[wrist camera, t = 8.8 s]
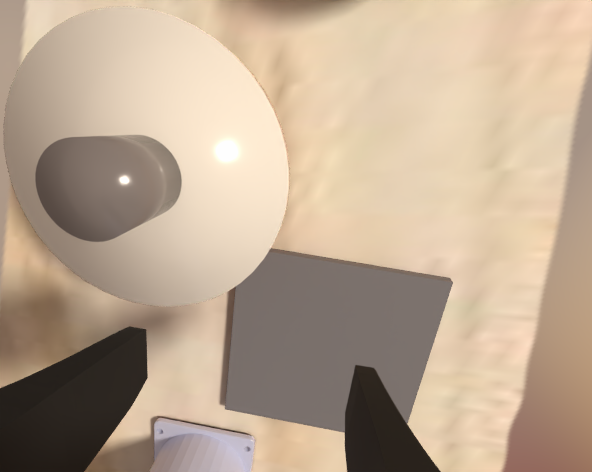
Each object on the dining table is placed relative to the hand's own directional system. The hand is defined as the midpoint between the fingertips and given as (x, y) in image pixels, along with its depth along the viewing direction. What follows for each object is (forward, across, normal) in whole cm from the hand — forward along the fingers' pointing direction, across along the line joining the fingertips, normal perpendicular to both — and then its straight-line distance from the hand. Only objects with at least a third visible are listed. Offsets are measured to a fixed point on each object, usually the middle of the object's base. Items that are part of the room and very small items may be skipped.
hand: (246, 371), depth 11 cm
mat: (+10, -4, +6) cm, 12 cm away
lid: (+6, +6, -5) cm, 10 cm away
